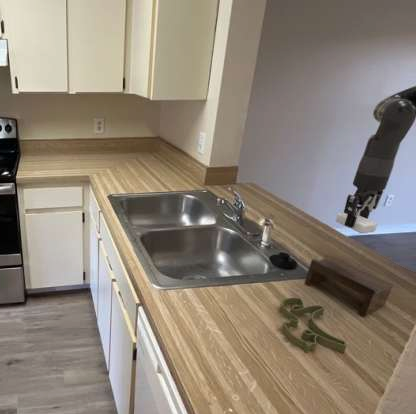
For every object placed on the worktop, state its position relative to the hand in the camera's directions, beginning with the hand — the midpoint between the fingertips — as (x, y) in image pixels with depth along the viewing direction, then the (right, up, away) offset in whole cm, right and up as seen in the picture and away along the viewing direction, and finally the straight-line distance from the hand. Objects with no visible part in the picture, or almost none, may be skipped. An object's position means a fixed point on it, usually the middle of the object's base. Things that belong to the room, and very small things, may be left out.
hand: (355, 224), depth 101 cm
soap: (0, -1, 0) cm, 1 cm away
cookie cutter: (-26, -25, -18) cm, 40 cm away
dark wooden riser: (-8, -20, -6) cm, 22 cm away
